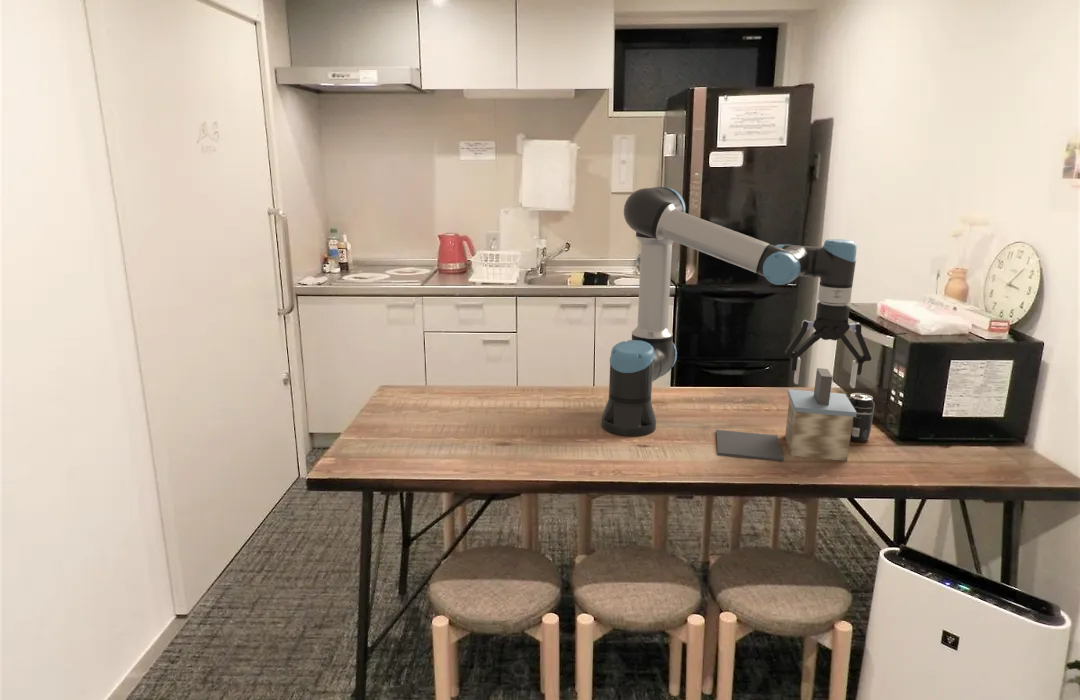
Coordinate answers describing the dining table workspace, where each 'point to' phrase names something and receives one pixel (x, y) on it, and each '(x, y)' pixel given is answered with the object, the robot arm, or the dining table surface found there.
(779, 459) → the mat
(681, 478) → the dining table surface
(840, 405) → the lid
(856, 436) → the beverage can
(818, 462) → the dining table surface
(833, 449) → the box
